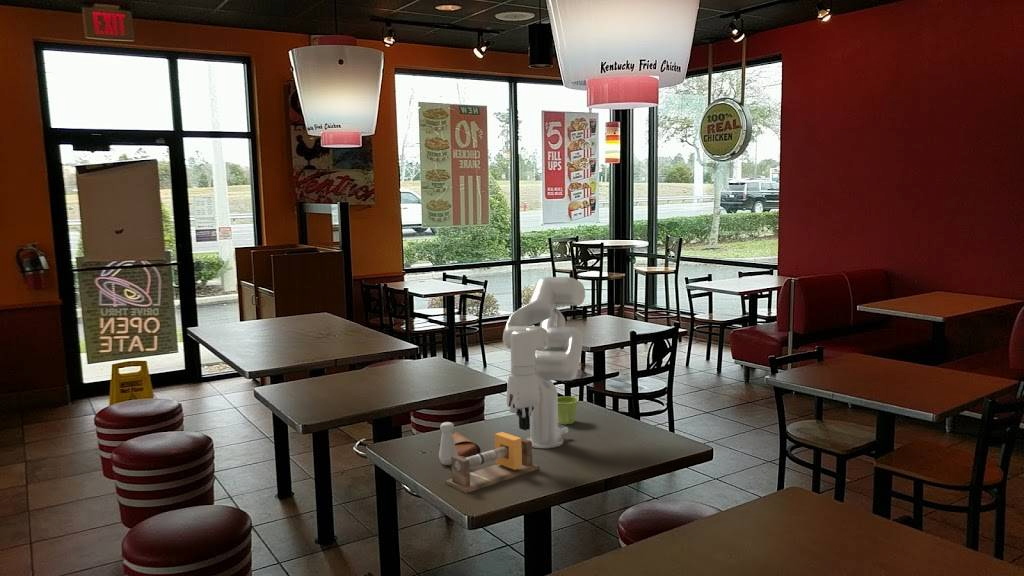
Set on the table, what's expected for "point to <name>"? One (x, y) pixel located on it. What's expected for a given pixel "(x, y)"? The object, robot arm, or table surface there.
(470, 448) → the sunglasses case
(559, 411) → the plant pot
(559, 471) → the table surface
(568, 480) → the table surface
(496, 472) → the pipe stand
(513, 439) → the collar
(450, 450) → the salt shaker
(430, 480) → the table surface
